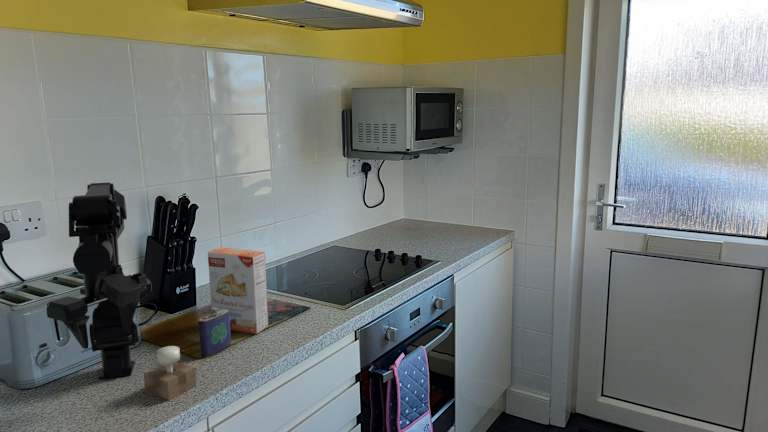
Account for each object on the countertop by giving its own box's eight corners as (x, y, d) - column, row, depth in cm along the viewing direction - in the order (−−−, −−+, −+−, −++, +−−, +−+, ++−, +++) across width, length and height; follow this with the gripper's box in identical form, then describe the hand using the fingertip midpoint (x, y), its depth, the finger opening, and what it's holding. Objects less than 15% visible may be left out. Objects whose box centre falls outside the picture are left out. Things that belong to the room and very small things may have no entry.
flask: (225, 342, 138) (223, 301, 136) (235, 344, 137) (232, 303, 135) (197, 356, 130) (194, 313, 128) (207, 359, 129) (204, 315, 127)
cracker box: (211, 328, 147) (206, 251, 143) (225, 320, 152) (221, 246, 149) (256, 335, 142) (252, 256, 138) (269, 327, 147) (265, 250, 144)
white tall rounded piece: (154, 389, 114) (151, 352, 112) (172, 380, 118) (169, 344, 116) (169, 394, 112) (166, 356, 110) (187, 385, 116) (184, 348, 114)
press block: (145, 392, 113) (143, 374, 113) (173, 378, 119) (171, 360, 119) (169, 400, 110) (167, 381, 109) (196, 385, 116) (195, 367, 115)
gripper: (82, 279, 93) (92, 367, 96) (168, 254, 109) (174, 329, 112) (39, 272, 98) (50, 355, 100) (128, 248, 114) (135, 320, 117)
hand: (107, 339), depth 107 cm, fingers open, 9 cm apart
